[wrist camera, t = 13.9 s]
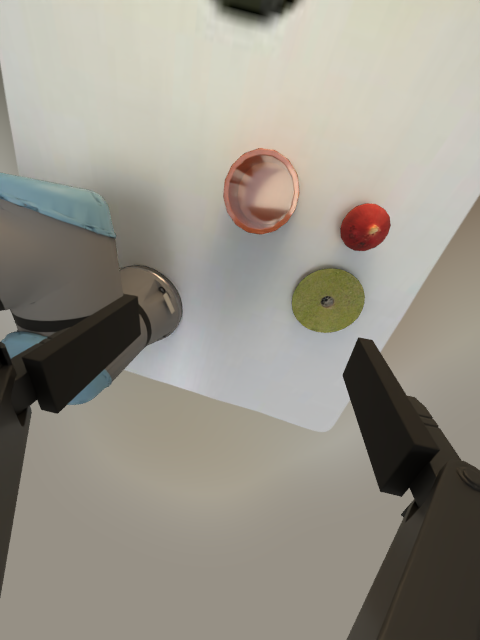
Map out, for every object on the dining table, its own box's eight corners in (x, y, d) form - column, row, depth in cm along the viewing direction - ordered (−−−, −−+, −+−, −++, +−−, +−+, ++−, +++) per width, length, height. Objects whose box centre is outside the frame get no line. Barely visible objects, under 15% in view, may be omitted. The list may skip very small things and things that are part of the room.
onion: (360, 252, 37) (377, 265, 30) (328, 234, 36) (337, 243, 29) (388, 215, 34) (414, 219, 27) (353, 195, 34) (369, 194, 27)
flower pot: (231, 222, 38) (220, 227, 32) (239, 153, 34) (228, 143, 28) (289, 232, 37) (288, 239, 31) (304, 162, 33) (307, 154, 27)
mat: (330, 338, 44) (332, 344, 42) (279, 306, 43) (278, 310, 41) (377, 289, 39) (381, 293, 37) (319, 252, 38) (321, 254, 36)
